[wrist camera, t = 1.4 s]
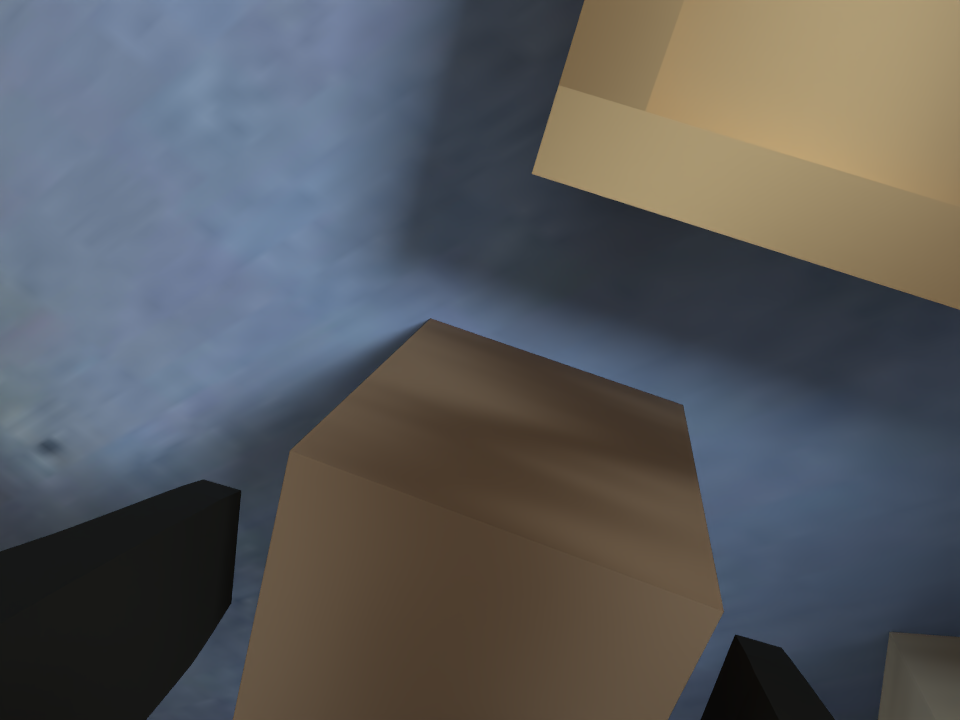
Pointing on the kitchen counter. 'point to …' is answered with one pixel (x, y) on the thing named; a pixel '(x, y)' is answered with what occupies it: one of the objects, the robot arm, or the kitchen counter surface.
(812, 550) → the kitchen counter surface
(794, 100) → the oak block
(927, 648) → the maple cube
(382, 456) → the walnut cube
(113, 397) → the kitchen counter surface
